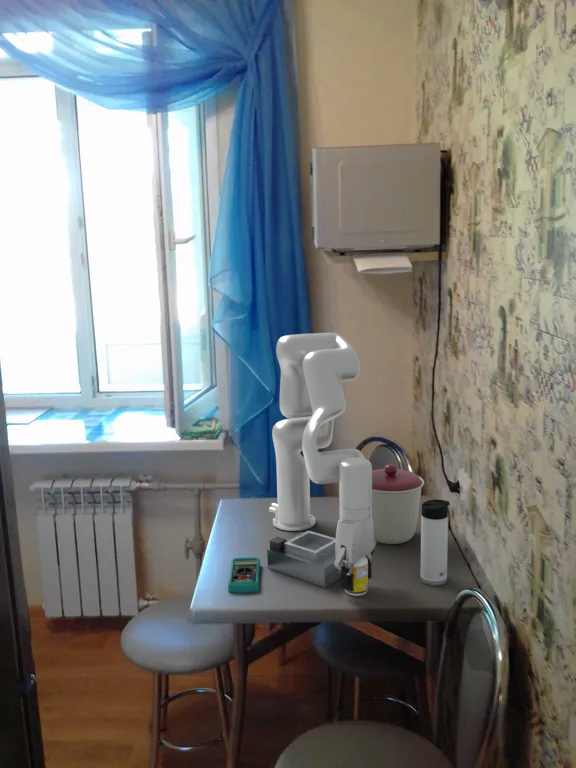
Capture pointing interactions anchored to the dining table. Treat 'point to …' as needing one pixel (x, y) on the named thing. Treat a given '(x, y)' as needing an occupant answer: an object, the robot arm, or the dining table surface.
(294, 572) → the grey square socket fixture
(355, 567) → the supplement bottle
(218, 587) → the dining table surface
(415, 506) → the canister
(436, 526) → the travel mug
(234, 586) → the digital multimeter
